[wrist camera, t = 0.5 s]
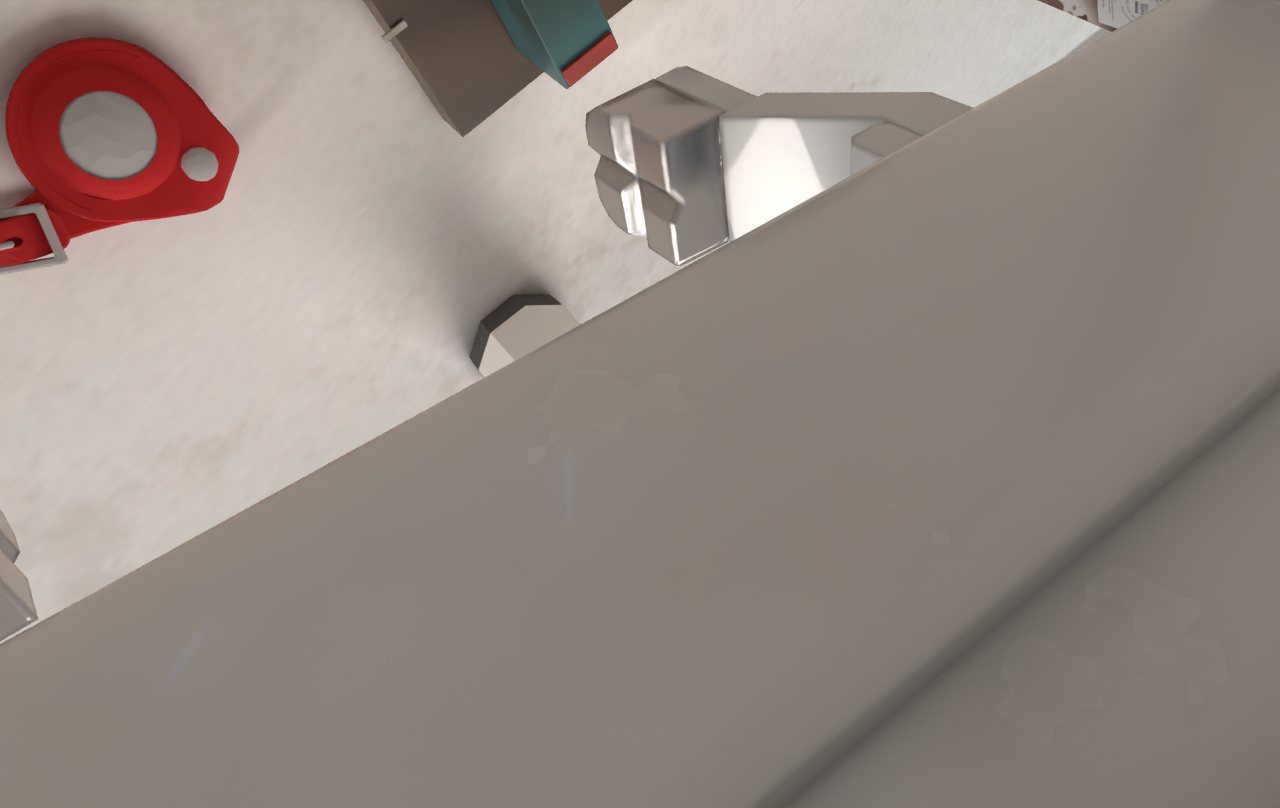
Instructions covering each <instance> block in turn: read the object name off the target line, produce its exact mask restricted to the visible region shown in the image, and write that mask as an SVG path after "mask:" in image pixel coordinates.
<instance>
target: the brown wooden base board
mask: <svg viewBox="0 0 1280 808" xmlns="http://www.w3.org/2000/svg"><path fill="white" fill-rule="evenodd" d="M598 1H599V3H600V6H601V8H602V10H603V13H604V15H605V17H606V19H607V20H609V19H610V18H611V17H612V16H614V15H615V14H616V13H617V12H619V11H620V10H621V9H622V8H624V7H625V6H626V5H627V4H628V3H630V2H631V1H632V0H598ZM364 2H365V3H366V5H367V6H368V8H369V9H370V11H371V12H372V14H373V15H374V17H375V18H376V20H377V21H378V23H379V24H380V26H381V27H382V29H383V30H384V32H385V34H384V35H382V36H381V37H382V38H383V40H384V41H385V42H386V43H387V42H388V41H389V40H391V42H392V43H393V45H394V46H395V48H396V49H397V51H398V52H399V54H400V55H401V57H402V58H403V60H404V61H405V63H406V64H407V66H408V67H409V69H410V70H411V72H412V73H413V74H414V76H415V77H416V79H417V80H418V82H419V83H420V85H421V86H422V88H423V89H424V91H425V92H426V94H427V95H428V97H429V98H430V100H431V101H432V103H433V104H434V106H435V107H436V109H437V110H438V112H439V113H440V114H441V116H442V117H443V119H444V120H445V121H446V122H447V123H448V124H449V125H450V126H451V127H452V128H454V129H455V130H456V131H457V132H458V133H459V134H460V135H461V136H462V137H464V136H465V135H466V134H468V133H469V132H470V131H471V130H473V129H474V128H475V127H476V126H477V125H479V124H480V123H481V122H482V121H484V120H485V119H486V118H487V117H489V116H490V115H491V114H492V113H494V112H495V111H496V110H497V109H499V108H500V107H501V106H502V105H503V104H505V103H506V102H507V101H508V100H510V99H511V98H512V97H513V96H515V95H516V94H517V93H518V92H520V91H521V90H522V89H523V88H525V87H526V86H527V85H528V84H529V83H531V82H532V81H533V80H534V79H536V78H537V77H538V76H539V75H541V74H542V73H543V72H544V71H542V70H541V69H540V68H538V67H537V66H536V65H535V64H533V63H532V62H531V61H529V60H528V59H527V58H526V57H524V56H523V55H522V54H520V53H519V51H518V49H517V47H516V46H515V44H514V42H513V40H512V38H511V36H510V35H509V33H508V31H507V29H506V27H505V25H504V23H503V22H502V20H501V18H500V16H499V14H498V12H497V11H496V9H495V7H494V5H493V3H492V1H491V0H364Z"/></svg>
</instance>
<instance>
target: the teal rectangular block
mask: <svg viewBox="0 0 1280 808" xmlns="http://www.w3.org/2000/svg"><path fill="white" fill-rule="evenodd" d="M491 1H492V3H493V5H494V7H495V9H496V11H497V12H498V14H499V16H500V18H501V20H502V22H503V23H504V25H505V27H506V29H507V31H508V33H509V35H510V36H511V38H512V40H513V42H514V44H515V46H516V47H517V49H518V51H519V53H520V54H522V55H523V56H524V57H526V58H527V59H528V60H529V61H531V62H532V63H533V64H535V65H536V66H537V67H538V68H540V69H541V70H542V71H544V72H545V73H546V74H548V75H549V76H550V77H551V78H553V79H554V80H555V81H557V82H558V83H559V84H561V85H562V86H563V87H564V88H566V89H568V88H569V87H571V86H572V85H573V84H575V83H576V82H577V81H578V80H580V79H581V78H582V77H583V76H584V75H586V74H587V73H588V72H589V71H591V70H592V69H593V68H594V67H596V66H597V65H598V64H599V63H600V62H602V61H603V60H604V59H605V58H607V57H608V56H609V55H610V54H612V53H613V52H614V51H615V50H616V49H618V45H617V43H616V40H615V38H614V36H613V33H612V31H611V29H610V26H609V24H608V22H607V19H606V17H605V15H604V13H603V10H602V8H601V6H600V3H599V1H598V0H491Z"/></svg>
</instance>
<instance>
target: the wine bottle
mask: <svg viewBox="0 0 1280 808" xmlns="http://www.w3.org/2000/svg"><path fill="white" fill-rule="evenodd" d="M579 325H581V324H580V323H579V322H578V321H577V320H576V319H575V318H574V317H573V316H572V315H571V314H570V313H569V312H568V311H567V310H566V309H565V308H564V307H563V306H562V305H561V304H560V303H559V302H558V301H557V300H556V299H555V298H553V297H552V296H550V295H514V296H513V297H512V298H510V299H509V300H508V301H506V302H505V303H504V304H503V305H501V306H500V307H499V308H497V309H496V310H495V311H493V312H492V313H491V314H490V315H488V316H487V317H486V318H484V319H483V320H482V321H481V322H480V326H479V329H478V332H477V335H476V338H475V342H474V345H473V348H472V351H471V354H470V358H471V360H472V362H473V364H474V365H475V366H476V367H477V369H478V370H479V371H480V373H481V374H482V375H483V376H484V378H485V377H487V376H488V375H490V374H492V373H494V372H496V371H497V370H499V369H501V368H503V367H505V366H507V365H508V364H510V363H512V362H514V361H516V360H517V359H519V358H521V357H523V356H525V355H527V354H528V353H530V352H532V351H534V350H536V349H537V348H539V347H541V346H543V345H545V344H547V343H548V342H550V341H552V340H554V339H556V338H557V337H559V336H561V335H563V334H565V333H566V332H568V331H570V330H572V329H574V328H576V327H577V326H579Z"/></svg>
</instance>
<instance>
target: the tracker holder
mask: <svg viewBox="0 0 1280 808" xmlns="http://www.w3.org/2000/svg"><path fill="white" fill-rule="evenodd" d="M5 125H6V134H7V140H8V143H9V147H10V149H11V152H12V154H13V157H14V159H15V161H16V164H17V165H18V167H19V168H20V170H21V171H22V173H23V174H24V175H25V177H26V178H27V179H28V181H29V182H30V183H31V184H32V185H33V186H34V187H35V189H36V191H35V192H34V193H32V194H31V195H30V196H28V197H27V198H25V199H24V200H22V201H21V202H19V203H18V204H17V205H15V206H14V207H12V208H7V209H2V210H0V275H1V274H7V273H13V272H18V271H24V270H30V269H36V268H42V267H48V266H54V265H60V264H65V263H66V262H67V261H68V258H67V256H66V254H65V252H64V248H65V247H67V245H68V244H69V242H70V239H71V238H74V237H77V236H80V235H83V234H86V233H89V232H92V231H96V230H100V229H104V228H108V227H112V226H116V225H120V224H125V223H129V222H133V221H143V220H152V219H160V218H167V217H173V216H180V215H186V214H193V213H197V212H201V211H205V210H208V209H210V208H212V207H213V206H215V205H217V204H219V203H220V202H221V201H222V200H223V198H224V195H225V192H226V189H227V187H228V184H229V181H230V178H231V175H232V172H233V169H234V166H235V164H236V161H237V158H238V154H239V146H238V144H237V142H236V141H235V139H234V137H233V136H232V135H231V134H230V133H229V132H228V130H227V129H226V128H225V127H224V126H223V125H222V124H221V123H220V122H219V121H218V119H217V118H216V117H215V116H214V115H213V114H212V113H211V112H210V110H209V109H208V108H207V106H206V105H205V103H204V102H203V100H202V99H201V98H200V97H199V96H198V95H197V93H196V92H195V91H194V90H193V89H192V88H191V87H190V86H189V85H188V84H187V83H186V82H185V81H184V80H183V79H181V78H180V77H179V76H178V75H177V74H176V73H175V72H174V71H173V70H172V69H171V68H169V67H168V66H167V65H166V64H165V63H163V62H162V61H161V60H159V59H158V58H157V57H155V56H154V55H152V54H151V53H149V52H148V51H146V50H145V49H143V48H140V47H138V46H136V45H133V44H130V43H126V42H123V41H120V40H114V39H107V38H83V39H77V40H72V41H68V42H65V43H62V44H58V45H56V46H54V47H52V48H50V49H48V50H46V51H44V52H43V53H42V54H40V55H39V56H38V57H36V58H35V59H34V60H33V61H32V62H31V63H30V64H29V65H28V66H27V67H26V68H25V69H24V70H23V71H22V73H21V74H20V76H19V77H18V79H17V80H16V82H15V83H14V85H13V87H12V90H11V92H10V95H9V98H8V102H7V106H6V115H5ZM51 253H54V255H55V257H51V258H45V259H39V260H34V259H37V258H39V257H42V256H45V255H48V254H51ZM30 260H33V261H30Z"/></svg>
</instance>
